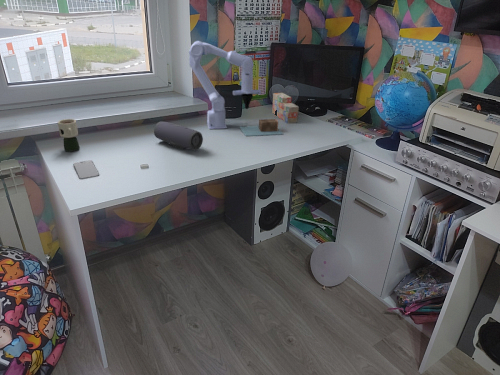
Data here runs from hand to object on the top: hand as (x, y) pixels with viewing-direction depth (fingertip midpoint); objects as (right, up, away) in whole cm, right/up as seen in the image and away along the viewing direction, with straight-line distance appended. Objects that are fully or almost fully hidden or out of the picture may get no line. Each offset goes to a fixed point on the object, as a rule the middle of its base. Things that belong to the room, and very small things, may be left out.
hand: (246, 108), depth 197 cm
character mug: (-76, -25, -32) cm, 87 cm away
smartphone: (-63, -35, -50) cm, 87 cm away
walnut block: (+7, -9, -1) cm, 12 cm away
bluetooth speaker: (-31, -23, -23) cm, 45 cm away
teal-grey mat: (+8, -12, 0) cm, 14 cm away
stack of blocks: (+22, -1, +24) cm, 32 cm away
